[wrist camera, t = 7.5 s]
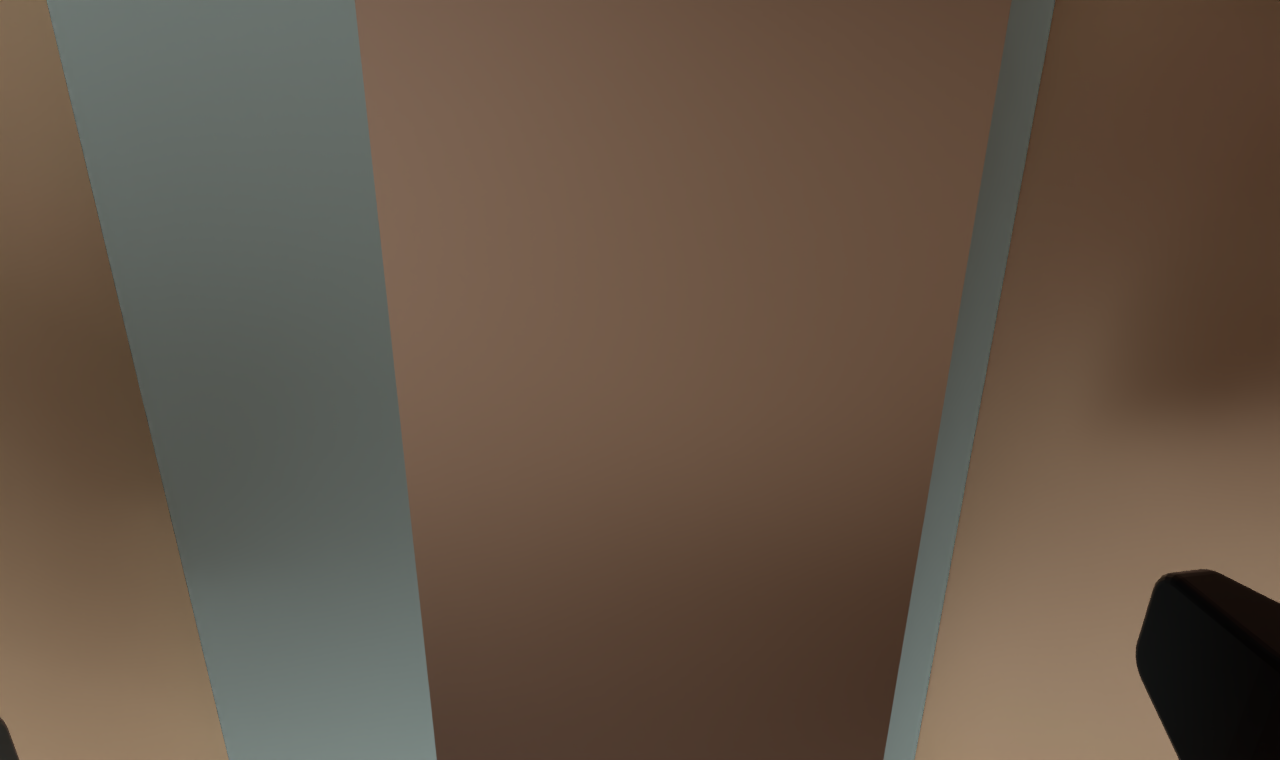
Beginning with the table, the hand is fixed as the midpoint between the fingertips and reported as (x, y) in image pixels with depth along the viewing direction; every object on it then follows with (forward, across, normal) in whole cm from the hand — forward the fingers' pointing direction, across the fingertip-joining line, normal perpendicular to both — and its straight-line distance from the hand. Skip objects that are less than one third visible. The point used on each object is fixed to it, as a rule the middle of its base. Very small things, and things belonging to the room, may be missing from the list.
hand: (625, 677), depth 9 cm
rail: (+2, 0, 0) cm, 2 cm away
